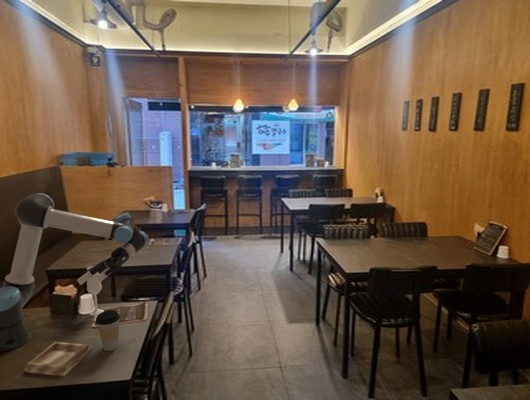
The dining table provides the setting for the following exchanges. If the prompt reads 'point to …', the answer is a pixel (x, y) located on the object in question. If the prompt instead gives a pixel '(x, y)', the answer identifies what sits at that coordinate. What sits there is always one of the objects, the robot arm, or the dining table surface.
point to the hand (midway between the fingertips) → (88, 280)
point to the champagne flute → (94, 291)
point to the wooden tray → (58, 359)
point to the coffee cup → (108, 329)
